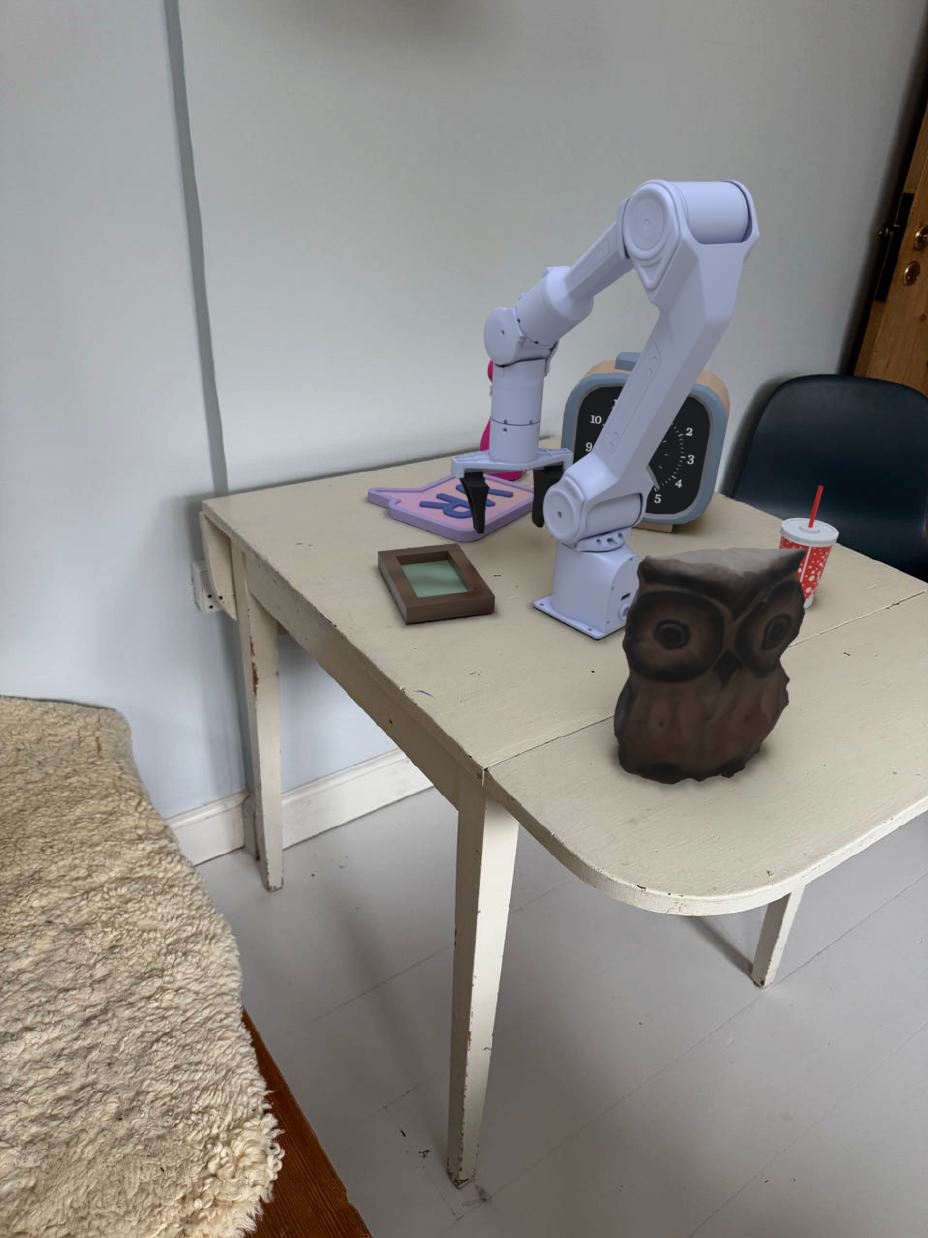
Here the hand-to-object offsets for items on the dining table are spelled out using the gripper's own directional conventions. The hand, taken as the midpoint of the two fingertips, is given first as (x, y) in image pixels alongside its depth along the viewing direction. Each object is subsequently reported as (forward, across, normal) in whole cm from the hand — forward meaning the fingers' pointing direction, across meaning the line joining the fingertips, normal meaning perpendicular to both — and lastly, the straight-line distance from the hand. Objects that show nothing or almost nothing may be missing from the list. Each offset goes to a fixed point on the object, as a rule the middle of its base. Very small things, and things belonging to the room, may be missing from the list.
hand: (508, 527), depth 102 cm
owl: (+4, -3, +38) cm, 38 cm away
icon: (+5, +1, -19) cm, 19 cm away
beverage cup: (+4, -29, +18) cm, 34 cm away
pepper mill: (+5, -10, -28) cm, 30 cm away
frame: (+4, +11, +6) cm, 13 cm away
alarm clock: (+4, -22, -9) cm, 24 cm away
